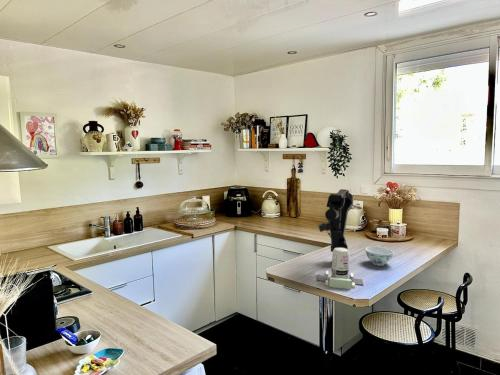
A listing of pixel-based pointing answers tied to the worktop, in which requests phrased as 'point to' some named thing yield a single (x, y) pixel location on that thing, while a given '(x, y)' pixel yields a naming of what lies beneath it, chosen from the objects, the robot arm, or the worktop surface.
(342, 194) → the robot arm
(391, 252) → the chinaware
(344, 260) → the supplement can
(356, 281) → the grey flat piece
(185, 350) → the worktop surface
